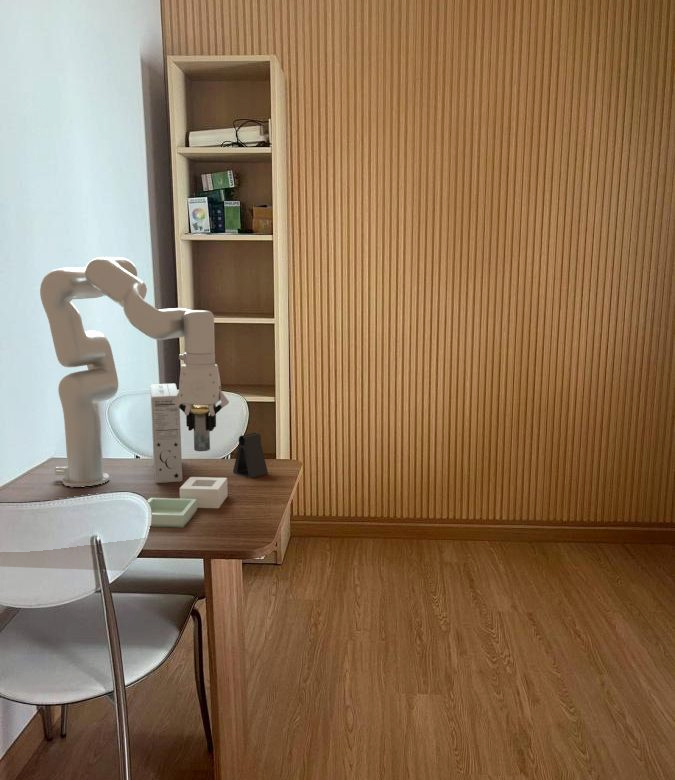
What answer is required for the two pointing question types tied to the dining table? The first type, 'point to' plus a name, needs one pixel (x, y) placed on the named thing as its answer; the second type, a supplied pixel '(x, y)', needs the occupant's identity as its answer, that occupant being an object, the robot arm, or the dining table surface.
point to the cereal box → (166, 433)
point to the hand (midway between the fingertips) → (201, 428)
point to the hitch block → (205, 491)
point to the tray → (172, 511)
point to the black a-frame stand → (250, 457)
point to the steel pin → (201, 427)
